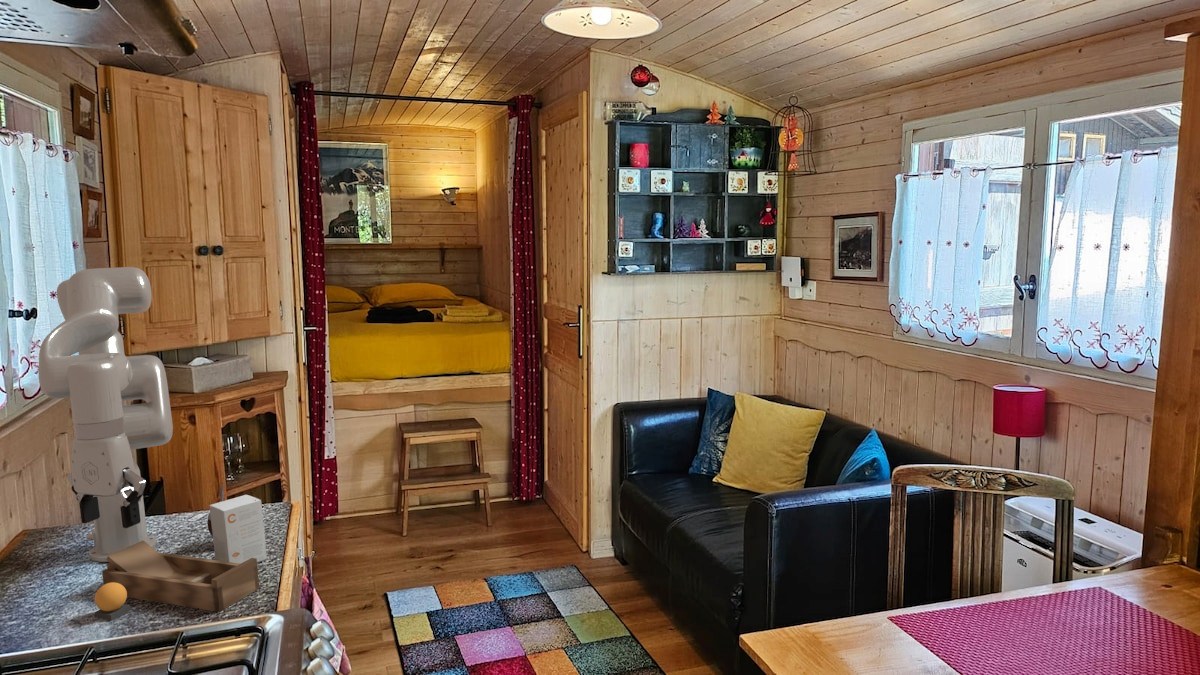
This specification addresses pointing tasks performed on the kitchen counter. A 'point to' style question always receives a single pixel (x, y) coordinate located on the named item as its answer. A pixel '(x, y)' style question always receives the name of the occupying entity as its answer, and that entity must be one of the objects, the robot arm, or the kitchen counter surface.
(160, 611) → the kitchen counter surface
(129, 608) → the square washer
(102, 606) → the ball
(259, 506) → the small box
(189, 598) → the brown long open tray
